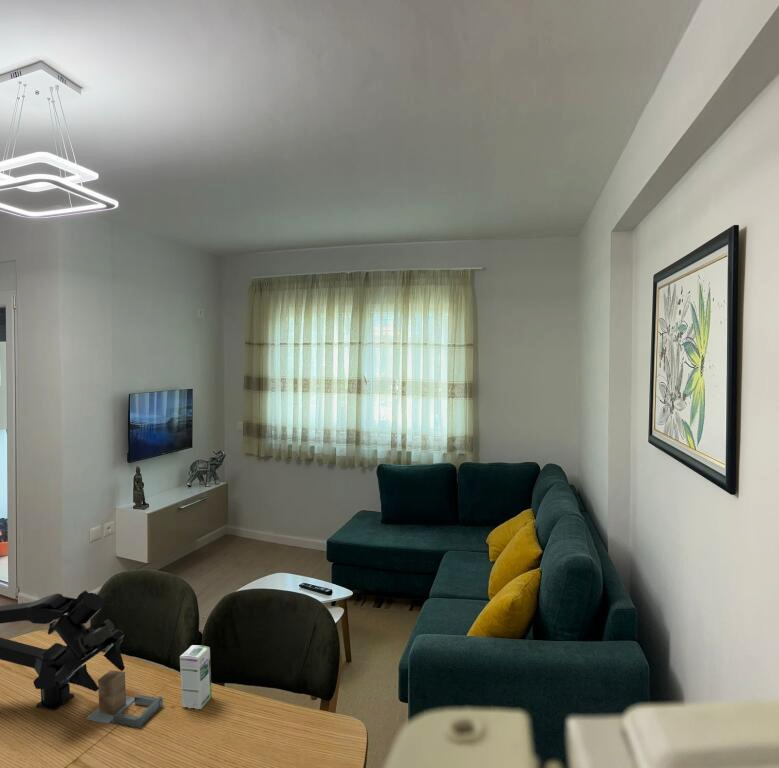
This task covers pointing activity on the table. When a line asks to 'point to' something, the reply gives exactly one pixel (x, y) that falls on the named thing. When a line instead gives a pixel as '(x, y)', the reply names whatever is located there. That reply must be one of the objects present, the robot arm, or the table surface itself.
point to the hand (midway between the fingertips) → (110, 679)
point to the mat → (107, 717)
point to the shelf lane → (138, 721)
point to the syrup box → (195, 676)
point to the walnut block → (112, 692)
